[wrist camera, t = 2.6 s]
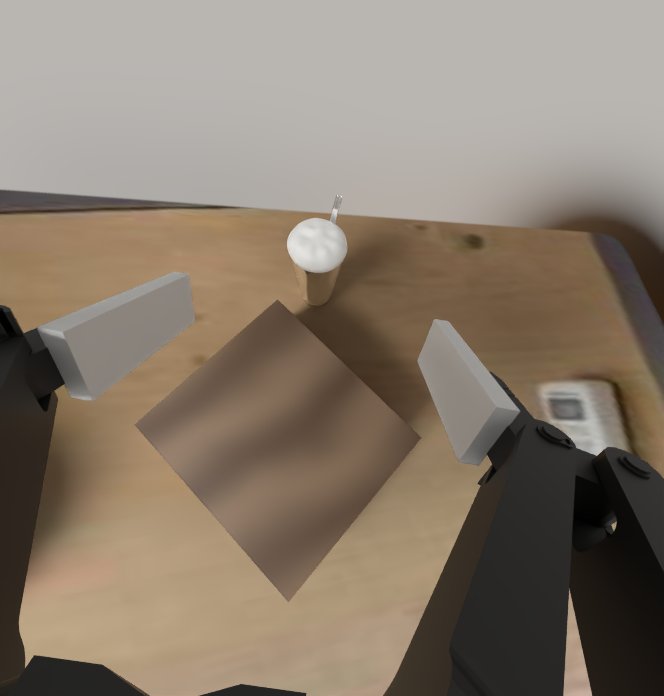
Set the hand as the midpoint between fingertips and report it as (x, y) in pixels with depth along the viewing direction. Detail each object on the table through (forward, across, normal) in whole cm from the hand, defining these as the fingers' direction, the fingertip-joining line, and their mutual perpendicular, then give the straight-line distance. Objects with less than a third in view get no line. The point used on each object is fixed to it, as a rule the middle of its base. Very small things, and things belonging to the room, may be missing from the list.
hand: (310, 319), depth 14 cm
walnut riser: (+4, -1, -13) cm, 14 cm away
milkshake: (+14, -1, -3) cm, 14 cm away
